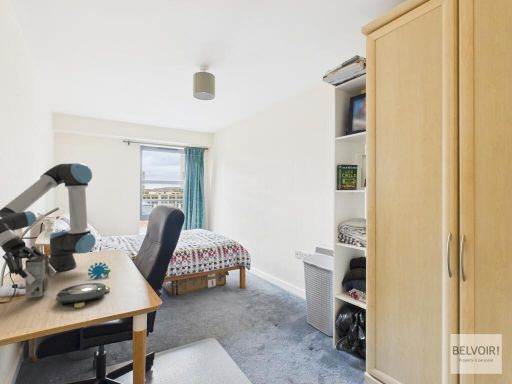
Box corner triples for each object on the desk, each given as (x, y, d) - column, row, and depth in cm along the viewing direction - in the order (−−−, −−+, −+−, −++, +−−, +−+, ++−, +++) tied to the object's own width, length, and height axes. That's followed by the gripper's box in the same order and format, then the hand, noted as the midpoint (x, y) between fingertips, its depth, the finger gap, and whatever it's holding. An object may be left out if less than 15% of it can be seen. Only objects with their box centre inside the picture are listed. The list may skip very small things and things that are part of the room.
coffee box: (32, 290, 123) (32, 255, 123) (49, 288, 126) (49, 254, 126) (24, 298, 115) (24, 260, 115) (43, 296, 117) (43, 259, 117)
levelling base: (74, 289, 130) (74, 280, 130) (115, 290, 129) (116, 281, 129) (37, 307, 109) (37, 296, 109) (85, 309, 108) (86, 298, 108)
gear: (84, 277, 144) (91, 261, 151) (86, 282, 148) (92, 266, 155) (107, 278, 147) (112, 262, 154) (108, 283, 151) (113, 267, 158)
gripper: (28, 243, 132) (58, 275, 132) (-23, 254, 109) (13, 293, 109) (38, 232, 132) (68, 264, 131) (-11, 241, 109) (25, 280, 108)
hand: (43, 277), depth 120 cm, fingers closed on coffee box, 10 cm apart
